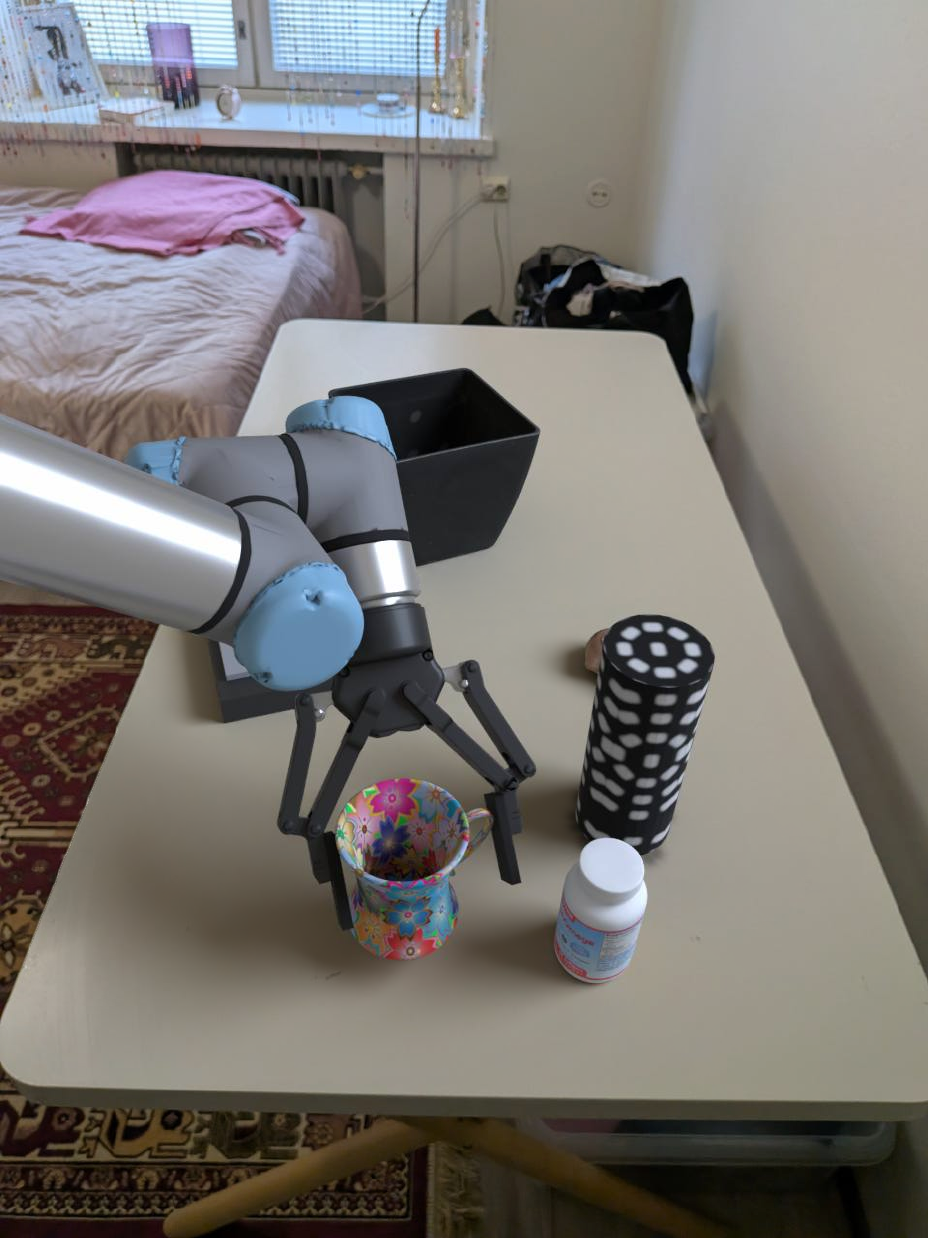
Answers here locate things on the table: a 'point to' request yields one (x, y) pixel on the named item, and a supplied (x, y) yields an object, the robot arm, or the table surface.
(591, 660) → the oil lamp
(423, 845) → the mug
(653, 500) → the table surface
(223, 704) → the scale
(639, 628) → the spotted tube
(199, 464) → the robot arm
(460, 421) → the flower pot
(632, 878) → the pill bottle
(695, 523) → the table surface
